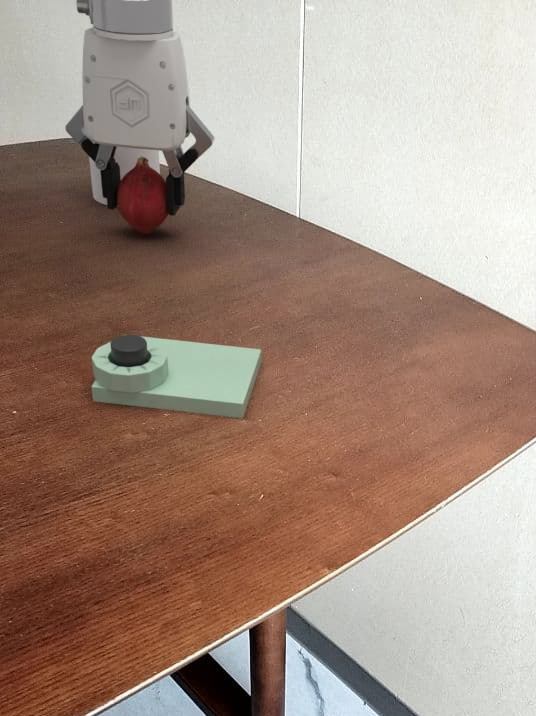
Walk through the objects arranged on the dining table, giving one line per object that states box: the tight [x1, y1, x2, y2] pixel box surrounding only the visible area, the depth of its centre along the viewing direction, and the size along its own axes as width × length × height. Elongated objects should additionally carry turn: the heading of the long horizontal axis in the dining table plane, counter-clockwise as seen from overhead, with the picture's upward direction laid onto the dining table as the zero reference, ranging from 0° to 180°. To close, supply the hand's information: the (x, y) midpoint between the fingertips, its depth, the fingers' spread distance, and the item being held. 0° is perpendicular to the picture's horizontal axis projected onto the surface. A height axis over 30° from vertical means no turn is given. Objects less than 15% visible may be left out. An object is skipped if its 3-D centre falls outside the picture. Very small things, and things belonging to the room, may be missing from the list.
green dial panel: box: [90, 335, 262, 419], centre depth 70 cm, size 12×9×3 cm
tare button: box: [109, 334, 148, 367], centre depth 68 cm, size 3×3×2 cm
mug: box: [88, 147, 161, 208], centre depth 102 cm, size 12×8×10 cm, turn 13°
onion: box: [117, 156, 170, 235], centre depth 93 cm, size 6×6×8 cm
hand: (144, 206), depth 93 cm, fingers closed on onion, 5 cm apart
